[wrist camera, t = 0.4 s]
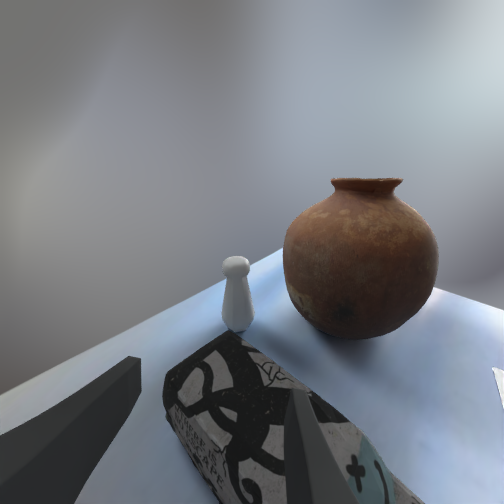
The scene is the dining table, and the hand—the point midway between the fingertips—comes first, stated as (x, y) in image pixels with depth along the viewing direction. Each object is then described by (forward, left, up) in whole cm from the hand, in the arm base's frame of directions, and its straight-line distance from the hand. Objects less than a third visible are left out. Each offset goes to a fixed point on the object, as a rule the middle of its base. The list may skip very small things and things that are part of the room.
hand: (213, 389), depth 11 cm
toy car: (+5, -3, -20) cm, 21 cm away
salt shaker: (+25, +7, -20) cm, 33 cm away
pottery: (+32, -11, -20) cm, 39 cm away
